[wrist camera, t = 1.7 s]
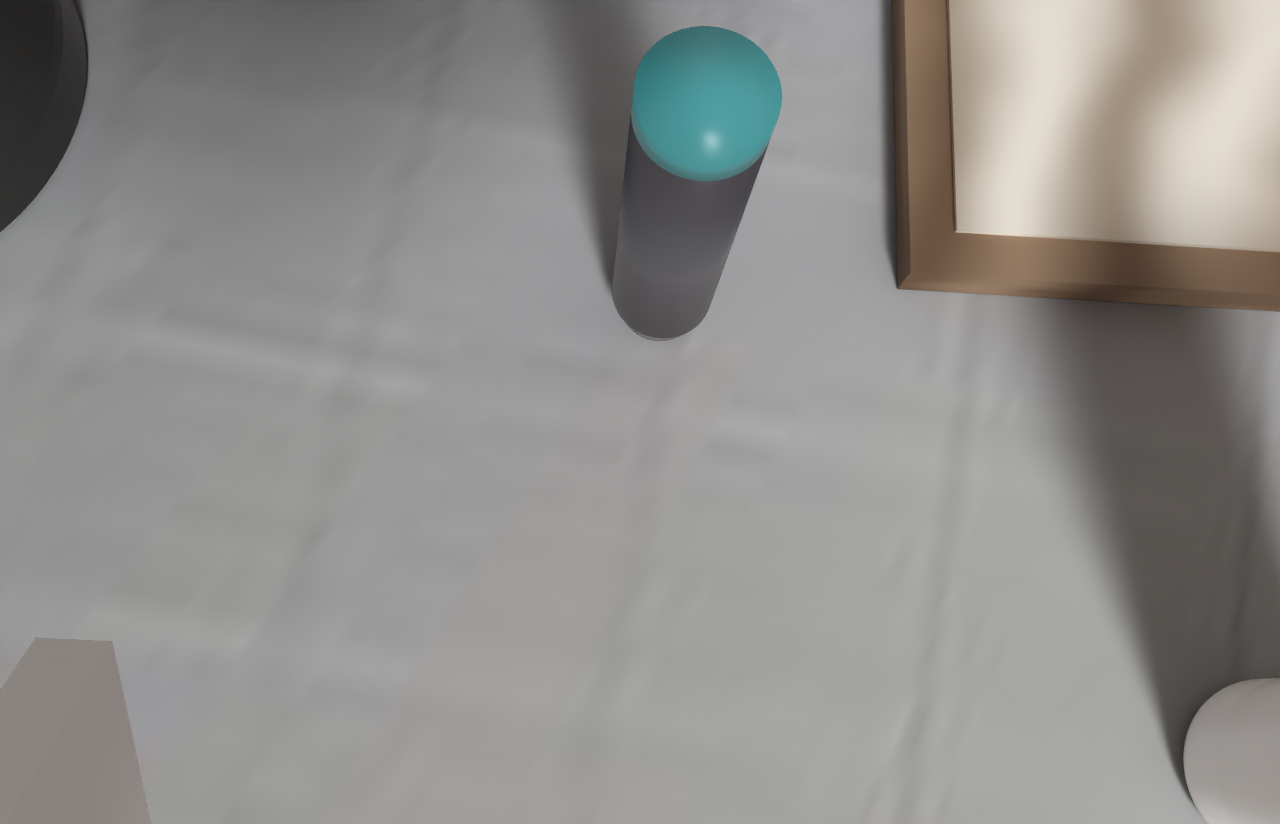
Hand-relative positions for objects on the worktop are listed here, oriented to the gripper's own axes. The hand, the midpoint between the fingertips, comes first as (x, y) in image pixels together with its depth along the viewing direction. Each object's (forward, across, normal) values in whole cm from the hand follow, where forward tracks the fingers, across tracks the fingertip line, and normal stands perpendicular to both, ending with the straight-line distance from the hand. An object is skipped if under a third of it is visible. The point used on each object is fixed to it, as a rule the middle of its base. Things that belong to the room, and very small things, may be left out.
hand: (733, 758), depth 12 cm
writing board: (+31, +16, 0) cm, 35 cm away
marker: (+25, 0, -6) cm, 26 cm away
